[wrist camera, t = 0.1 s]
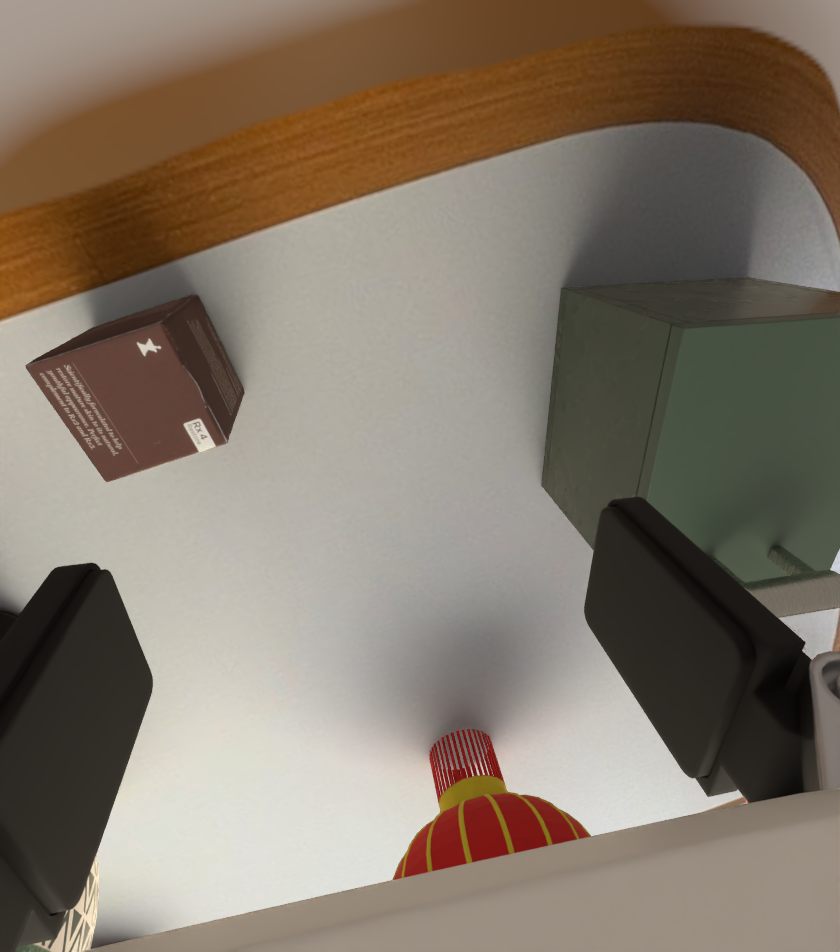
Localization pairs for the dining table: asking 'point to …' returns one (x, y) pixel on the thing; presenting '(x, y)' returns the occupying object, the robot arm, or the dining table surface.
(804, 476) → the bin lid
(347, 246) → the dining table surface
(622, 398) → the green open box
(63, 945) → the planter
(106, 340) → the box
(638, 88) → the dining table surface
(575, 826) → the lantern
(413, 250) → the dining table surface
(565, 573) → the dining table surface
